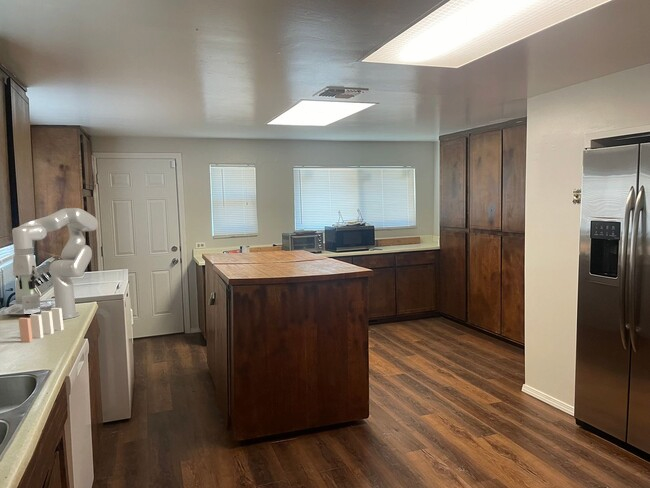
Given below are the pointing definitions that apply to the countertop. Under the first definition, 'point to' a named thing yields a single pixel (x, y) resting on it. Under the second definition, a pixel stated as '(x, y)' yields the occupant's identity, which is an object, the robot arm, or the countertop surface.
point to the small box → (30, 301)
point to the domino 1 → (26, 285)
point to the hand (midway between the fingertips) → (27, 288)
